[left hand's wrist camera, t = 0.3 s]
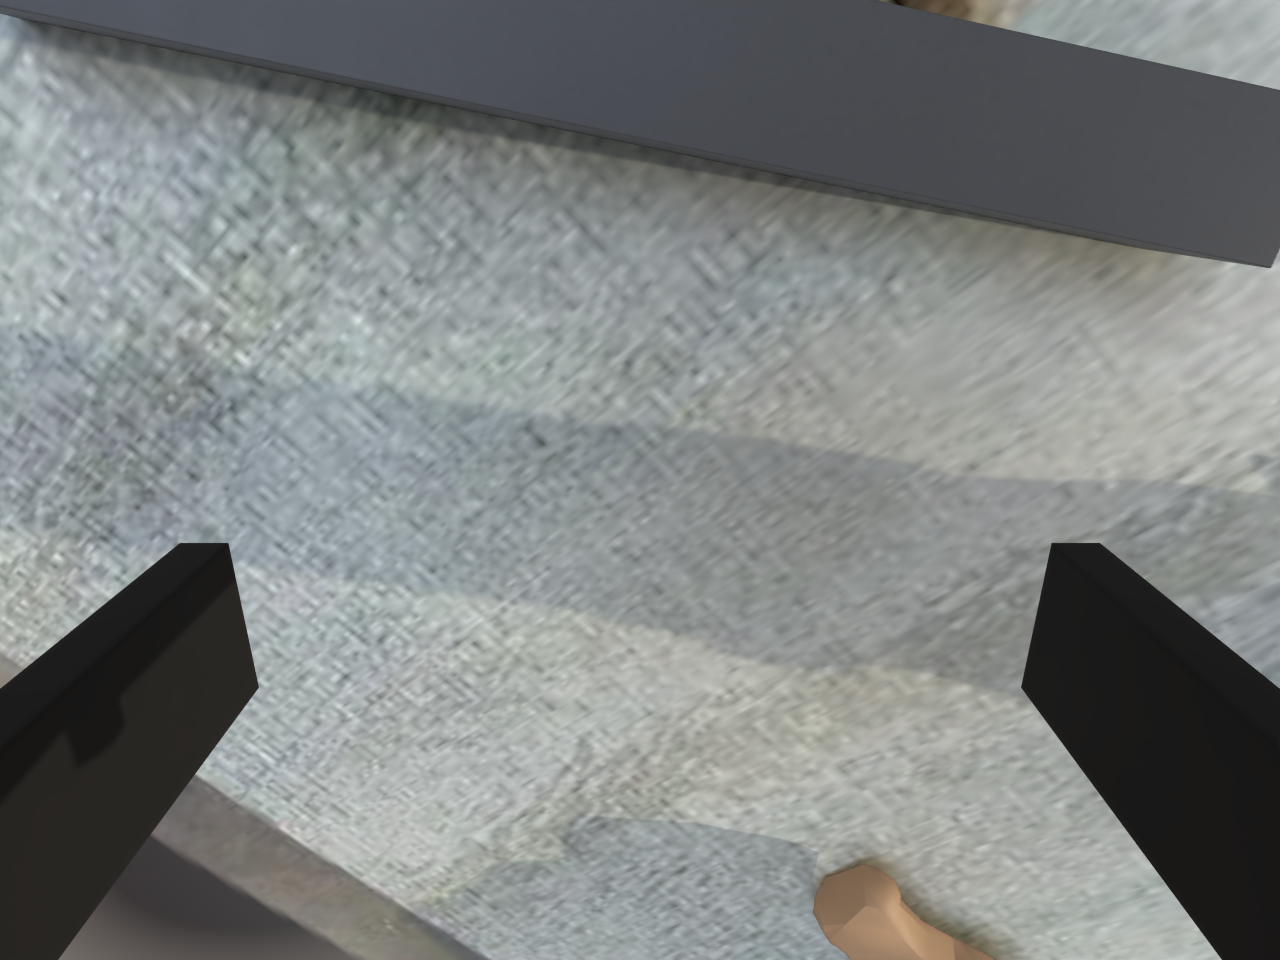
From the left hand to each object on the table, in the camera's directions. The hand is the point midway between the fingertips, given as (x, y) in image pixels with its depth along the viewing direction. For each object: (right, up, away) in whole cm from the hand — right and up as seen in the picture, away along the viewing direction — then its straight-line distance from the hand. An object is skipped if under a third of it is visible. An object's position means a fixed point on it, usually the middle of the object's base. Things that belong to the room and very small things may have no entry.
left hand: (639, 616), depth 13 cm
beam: (-1, +20, +21) cm, 29 cm away
